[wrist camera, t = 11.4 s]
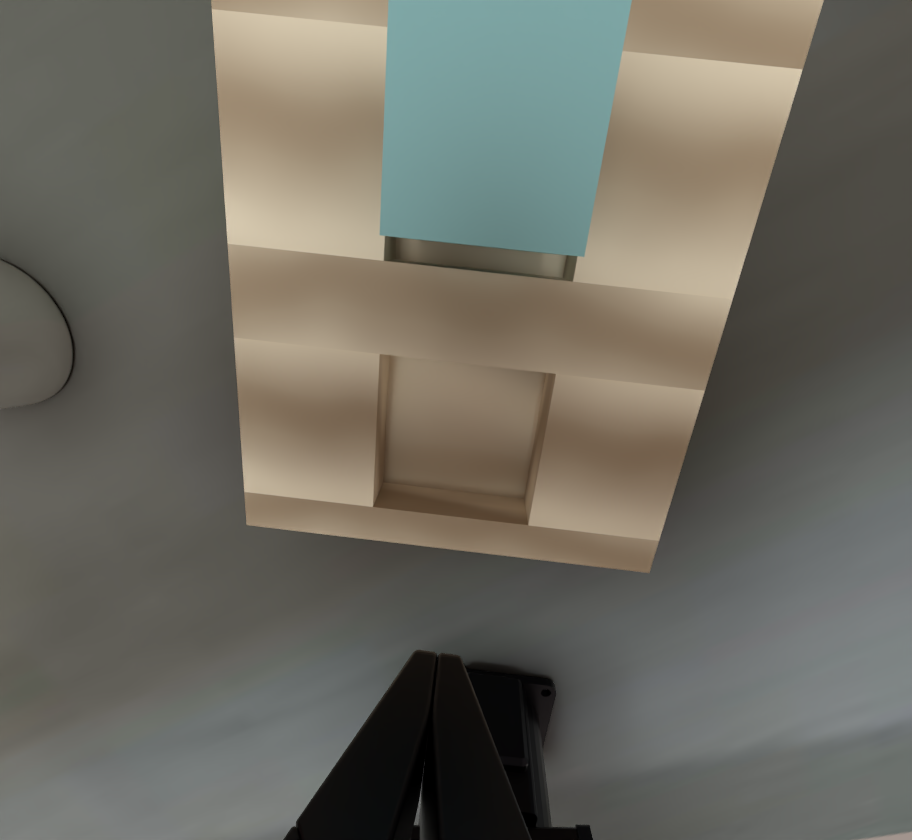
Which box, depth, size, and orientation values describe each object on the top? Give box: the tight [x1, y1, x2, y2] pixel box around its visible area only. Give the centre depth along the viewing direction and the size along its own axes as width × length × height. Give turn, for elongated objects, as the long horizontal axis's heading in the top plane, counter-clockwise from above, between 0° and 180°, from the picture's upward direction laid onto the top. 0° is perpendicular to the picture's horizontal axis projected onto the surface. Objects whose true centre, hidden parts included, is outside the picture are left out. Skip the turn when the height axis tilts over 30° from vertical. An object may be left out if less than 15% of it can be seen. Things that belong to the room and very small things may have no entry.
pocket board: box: [211, 0, 824, 573], centre depth 16 cm, size 18×16×2 cm
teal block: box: [380, 0, 632, 257], centre depth 12 cm, size 4×4×6 cm
